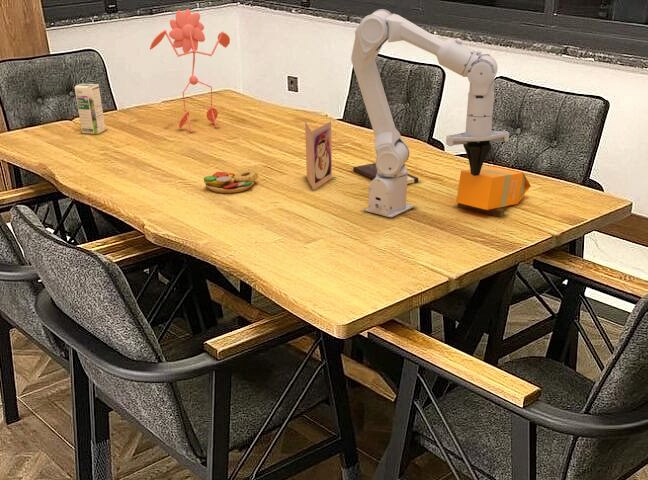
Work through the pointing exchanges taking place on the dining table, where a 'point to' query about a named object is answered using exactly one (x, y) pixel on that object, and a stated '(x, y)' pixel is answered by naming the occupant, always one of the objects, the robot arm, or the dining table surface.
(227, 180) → the toy food set
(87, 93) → the syrup box
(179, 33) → the figurine
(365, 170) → the chocolate bar
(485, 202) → the orange juice
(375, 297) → the dining table surface
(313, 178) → the greeting card
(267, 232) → the dining table surface
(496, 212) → the walnut batten
